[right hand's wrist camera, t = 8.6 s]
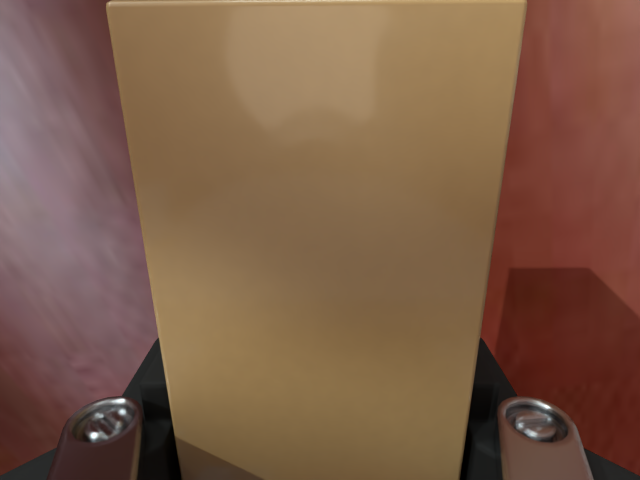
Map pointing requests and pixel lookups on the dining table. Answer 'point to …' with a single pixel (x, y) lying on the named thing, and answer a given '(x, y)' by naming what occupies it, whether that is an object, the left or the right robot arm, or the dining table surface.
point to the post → (318, 223)
